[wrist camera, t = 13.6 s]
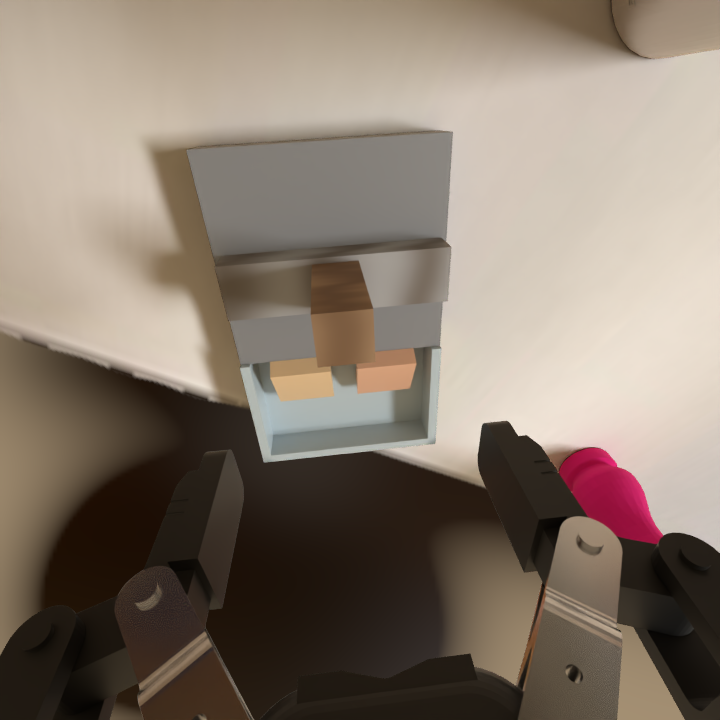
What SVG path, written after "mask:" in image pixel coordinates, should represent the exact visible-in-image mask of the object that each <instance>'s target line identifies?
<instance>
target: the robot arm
mask: <svg viewBox="0 0 720 720" xmlns="http://www.w3.org/2000/svg"><path fill="white" fill-rule="evenodd" d="M612 13H613V18H614V22H615V26H616V29H617V31H618V33H619V35H620V37H621V39H622V41H623V42H624V43H625V44H626V45H627V46H628V47H629V49H630V50H632V51H634V52H635V53H637V54H638V55H640V56H643V57H648V58H652V59H658V58H669V57H675V56H681V55H687V54H693V53H699V52H704V51H711V50H718V49H720V0H612ZM478 467H479V471H480V475H481V477H482V480H483V482H484V484H485V486H486V488H487V491H488V493H489V495H490V497H491V500H492V502H493V504H494V506H495V508H496V511H497V513H498V515H499V518H500V520H501V522H502V524H503V526H504V529H505V531H506V533H507V535H508V538H509V540H510V542H511V544H512V547H513V549H514V551H515V553H516V555H517V558H518V560H519V562H520V564H521V567H522V569H523V571H524V572H533V571H538V574H539V576H540V578H541V580H542V584H541V588H540V592H539V596H538V600H537V604H536V608H535V612H534V616H533V621H532V625H531V629H530V633H529V637H528V641H527V645H526V649H525V653H524V657H523V660H522V664H521V668H520V671H519V674H518V678H517V683H516V686H515V685H514V684H512V683H511V682H509V681H508V680H506V679H504V678H503V677H501V676H499V675H497V674H495V673H493V672H490V671H487V670H484V669H481V668H477V667H474V665H473V661H472V658H471V654H464V655H457V656H449V657H441V658H434V659H428V660H426V661H424V662H422V663H419V664H417V665H415V666H413V667H411V668H409V669H407V670H405V671H403V672H401V673H399V674H396V675H394V676H392V677H390V678H386V679H384V678H377V677H372V676H366V675H361V674H355V673H350V672H345V671H334V672H327V673H319V674H311V675H304V676H298V682H297V690H296V691H294V692H292V693H290V694H289V695H287V696H286V697H284V698H283V699H281V700H280V701H278V702H277V703H276V704H275V705H274V706H273V707H271V708H270V709H269V710H268V711H267V712H266V713H265V714H264V715H263V716H262V717H261V719H260V720H617V712H618V698H619V684H620V669H621V655H622V633H621V631H620V630H618V629H617V623H619V624H623V625H628V626H632V627H634V629H635V631H636V632H637V634H638V636H639V638H640V639H641V641H642V643H643V645H644V647H645V649H646V650H647V652H648V654H649V656H650V658H651V659H652V661H653V663H654V664H655V666H656V668H657V670H658V672H659V674H660V676H661V677H662V679H663V681H664V683H665V684H666V686H667V688H668V690H669V692H670V694H671V695H672V697H673V699H674V701H675V703H676V704H677V706H678V708H679V710H680V711H681V713H682V715H683V717H684V719H685V720H720V553H719V552H718V551H716V550H715V549H714V548H713V547H711V546H710V545H709V544H707V543H705V542H704V541H702V540H700V539H698V538H696V537H693V536H691V535H687V534H683V533H669V534H666V535H664V536H663V537H661V539H660V540H659V542H658V544H654V543H648V542H643V541H637V540H631V539H626V538H622V537H618V536H616V535H615V534H614V533H613V532H612V531H611V530H610V529H609V528H608V527H606V526H605V525H604V524H602V523H600V522H598V521H596V520H594V519H591V518H589V517H588V516H587V514H586V513H585V512H584V510H583V509H582V507H581V506H580V504H579V503H578V501H577V500H576V498H575V497H574V495H573V494H572V492H571V491H570V489H569V488H568V486H567V485H566V483H565V482H564V480H563V479H562V477H561V476H560V474H559V473H557V470H556V468H555V467H554V465H553V464H552V462H550V459H549V458H548V456H547V455H546V453H545V452H544V450H543V449H542V447H541V446H540V445H539V444H537V443H536V442H535V441H533V440H532V439H531V438H529V437H528V436H527V435H525V436H518V435H517V434H516V432H515V430H514V429H513V427H512V426H511V424H510V423H509V422H508V421H501V422H491V423H484V424H483V425H482V429H481V436H480V444H479V451H478ZM243 499H244V490H243V483H242V480H241V476H240V473H239V471H238V467H237V464H236V461H235V458H234V455H233V452H232V451H231V450H223V451H214V452H206V453H205V454H204V456H203V459H202V462H201V465H200V467H199V470H196V471H189V472H188V473H187V474H186V475H185V476H184V478H183V479H182V480H181V481H180V482H179V483H178V485H177V486H176V489H175V491H174V494H173V496H172V499H171V504H169V507H168V509H167V512H166V517H164V520H163V522H162V525H161V527H160V530H159V532H158V535H157V537H156V540H155V543H154V545H153V548H152V550H151V553H150V556H149V558H148V561H147V563H146V565H145V568H144V570H143V571H141V572H139V573H138V574H136V575H135V576H134V577H132V578H131V579H130V580H129V581H128V582H127V583H126V584H125V586H124V587H123V588H122V590H121V591H120V593H119V595H117V596H116V597H114V598H111V599H109V600H107V601H105V602H102V603H100V604H98V605H95V606H93V607H91V608H88V609H86V610H84V611H81V612H79V613H75V612H74V611H73V610H72V609H71V608H70V607H67V606H62V605H59V606H53V607H49V608H47V609H44V610H42V611H40V612H38V613H37V614H35V615H34V616H32V617H31V618H29V619H28V620H27V621H26V622H25V623H23V624H22V625H21V626H20V627H19V628H18V629H17V630H16V632H15V633H14V634H13V635H12V637H11V638H10V639H9V641H8V643H7V644H6V646H5V648H4V650H3V652H2V654H1V655H0V720H110V716H111V713H112V710H113V706H114V703H115V700H116V697H117V693H119V692H121V691H123V690H125V689H127V688H129V687H131V686H133V685H135V684H137V683H139V687H140V692H139V693H138V702H139V706H140V710H141V713H142V716H143V719H144V720H253V718H252V716H251V714H250V712H249V710H248V709H247V706H246V704H245V703H244V701H243V699H242V697H241V695H240V693H239V691H238V689H237V688H236V686H235V684H234V682H233V680H232V678H231V676H230V674H229V672H228V670H227V668H226V666H225V665H224V663H223V661H222V659H221V657H220V655H219V653H218V651H217V649H216V647H215V645H214V643H213V642H212V639H211V638H210V636H209V634H208V632H207V630H206V628H205V624H206V620H207V615H208V611H209V610H212V609H221V608H222V606H223V601H224V596H225V591H226V585H227V581H228V576H229V570H230V566H231V560H232V556H233V551H234V546H235V540H236V535H237V531H238V525H239V520H240V515H241V510H242V505H243Z"/></svg>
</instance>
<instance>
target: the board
mask: <svg viewBox="0 0 720 720" xmlns="http://www.w3.org/2000/svg"><path fill="white" fill-rule="evenodd" d="M452 136H453V132H449V131H427V132H412V133H397V134H382V135H367V136H352V137H337V138H322V139H307V140H292V141H278V142H263V143H248V144H233V145H218V146H203V147H195V148H191V149H187V150H186V151H187V155H188V159H189V163H190V167H191V171H192V175H193V179H194V183H195V187H196V191H197V195H198V199H199V202H200V206H201V210H202V214H203V218H204V222H205V226H206V230H207V234H208V238H209V242H210V246H211V250H212V254H213V258H214V262H215V265H216V264H217V263H218V261H219V260H220V258H221V257H222V256H225V255H237V254H249V253H261V252H273V251H285V250H297V249H309V248H321V247H333V246H345V245H357V244H369V243H381V242H393V241H405V240H417V239H429V238H442V239H443V240H445V241H446V235H447V219H448V202H449V186H450V169H451V153H452ZM373 312H374V336H375V352H377V351H388V350H399V349H409V348H422V347H432V346H440V334H441V318H442V302H432V303H421V304H410V305H400V306H389V307H378V308H373ZM230 325H231V328H232V332H233V336H234V340H235V344H236V348H237V352H238V356H239V360H240V364H241V365H245V364H256V363H266V362H273V361H284V360H294V359H304V358H315V357H316V352H315V344H314V337H313V329H312V322H311V314H302V315H291V316H280V317H269V318H258V319H247V320H236V321H230Z"/></svg>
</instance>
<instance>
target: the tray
mask: <svg viewBox="0 0 720 720" xmlns="http://www.w3.org/2000/svg"><path fill="white" fill-rule="evenodd" d="M414 353H415V358H416V363H417V364H416V367H415V371H414V375H413V379H412V382H411V386H410V389H401V390H391V391H381V392H371V393H361V394H358V393H357V385H356V364H350V365H340V366H331V371H332V379H333V388H334V396H331V397H322V398H312V399H302V400H292V401H283V402H281V401H280V399H279V396H278V394H277V392H276V390H275V388H274V385H273V383H272V381H271V379H270V362H266V363H256V364H245V365H241V366H240V371H241V375H242V379H243V383H244V386H245V390H246V394H247V398H248V402H249V406H250V410H251V413H252V418H253V421H254V425H255V429H256V433H257V437H258V441H259V445H260V449H261V452H262V456H263V460H264V462H272V461H282V460H291V459H300V458H309V457H318V456H327V455H335V454H336V455H337V454H346V453H354V452H364V451H373V450H382V449H391V448H400V447H409V446H418V445H428V444H435V441H436V426H437V410H438V394H439V378H440V362H441V347H440V346H432V347H422V348H414Z"/></svg>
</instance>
